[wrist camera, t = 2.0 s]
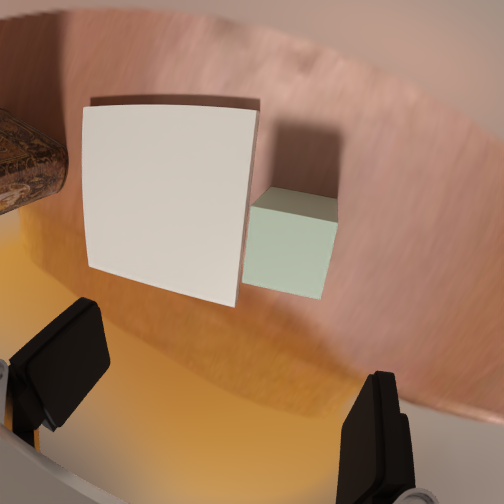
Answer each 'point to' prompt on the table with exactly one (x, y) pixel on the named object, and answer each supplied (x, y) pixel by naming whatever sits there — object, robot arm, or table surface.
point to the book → (28, 164)
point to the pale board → (169, 194)
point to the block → (290, 241)
